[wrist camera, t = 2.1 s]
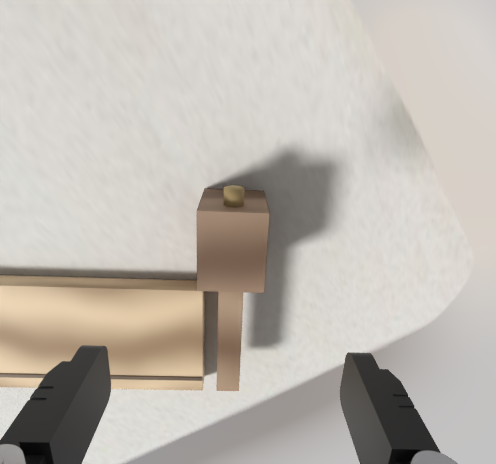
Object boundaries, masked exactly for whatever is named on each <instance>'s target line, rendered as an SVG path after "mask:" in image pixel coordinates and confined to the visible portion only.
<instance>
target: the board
mask: <svg viewBox="0 0 496 464" xmlns="http://www.w3.org/2000/svg"><path fill="white" fill-rule="evenodd" d="M82 345H93V346H106V347H107V350H108V359H109V368H110V377H111V389H153V390H203V383H204V291H197V281H196V280H160V279H124V278H88V277H52V276H16V275H0V387H29V388H38V386H39V384H40V383H41V381H42V380H43V378H44V377H45V376H46V374H47V373H48V372H49V371H50V370H52V369H53V368H54V367H55V366H57V365H58V364H59V363H60V362H62V361H71V360H72V358H73V357H74V355H75V353H76V352H77V350H78V349H79V347H80V346H82Z"/></svg>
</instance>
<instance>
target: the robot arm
mask: <svg viewBox="0 0 496 464" xmlns="http://www.w3.org/2000/svg"><path fill="white" fill-rule="evenodd" d="M110 392H111V377H110V368H109V359H108V350H107V347H106V346H93V345H82V346H80V347H79V349H78V350H77V352H76V353H75V355H74V357H73V358H72V360H71V361H62V362H60V363H59V364H58V365H57V366H55V367H54V368H53V369H52V370H50V371H49V372H48V373H47V374H46V376H45V377H44V378H43V380H42V381H41V383H40V384H39V386H38V389H36V390H35V391H34V393H33V394H32V396H31V397H30V400H28V401H27V403H26V404H25V406H24V407H23V409H22V410H21V411H20V413H19V414H18V416H17V417H16V419H15V420H14V421H13V423H12V424H11V426H10V427H9V429H8V430H7V431H6V433H5V434H4V436H3V437H2V439H1V440H0V464H82V461H83V459H84V457H85V454H86V452H87V450H88V447H89V445H90V443H91V440H92V438H93V436H94V433H95V431H96V429H97V426H98V424H99V422H100V420H101V417H102V415H103V413H104V410H105V408H106V406H107V403H108V400H109V397H110ZM340 400H341V406H342V409H343V413H344V416H345V419H346V422H347V425H348V428H349V431H350V434H351V437H352V440H353V443H354V446H355V449H356V452H357V455H358V458H359V462H360V464H457V463H456V462H455V461H454V460H452V459H451V458H449V457H448V456H446V455H444V454H441V453H440V451H439V449H438V447H437V445H436V444H435V442H434V440H433V438H432V437H431V435H430V433H429V431H428V429H427V428H426V426H425V424H424V422H423V421H422V419H421V417H420V415H419V413H418V412H417V410H416V409H415V408H414V405H413V403H412V401H411V399H410V398H409V397H408V394H407V392H406V390H405V389H404V387H403V385H402V383H401V381H400V380H398V379H397V378H396V377H395V376H394V375H393V374H392V373H391V372H390V371H389V370H386V369H385V370H383V369H379V367H378V365H377V363H376V361H375V359H374V358H373V356H372V354H371V353H347V355H346V358H345V364H344V370H343V375H342V381H341V387H340Z"/></svg>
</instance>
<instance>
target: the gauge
mask: <svg viewBox="0 0 496 464" xmlns="http://www.w3.org/2000/svg"><path fill="white" fill-rule="evenodd" d="M244 189H245V188H244V187H242V186H237V185H228V186H225V187H224V189H204V192H203V195H202V197H201V200H200V203H199V206H198V208H197V291H215V292H218V341H217V391H239V375H240V354H241V332H242V310H243V292H252V293H264V287H265V273H266V258H267V244H268V230H269V215H270V213H269V209H268V205H267V201H266V198H265V194H264V191H256V190H244Z"/></svg>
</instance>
